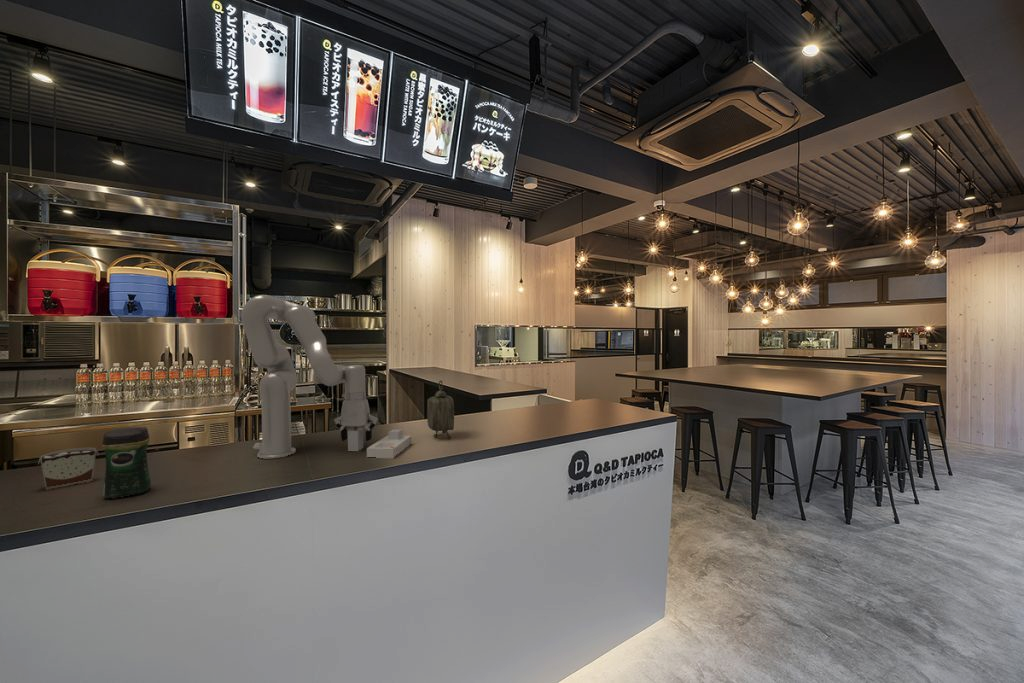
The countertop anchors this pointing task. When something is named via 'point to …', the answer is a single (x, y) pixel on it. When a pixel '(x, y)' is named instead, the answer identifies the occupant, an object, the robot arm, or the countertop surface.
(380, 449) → the power strip
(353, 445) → the plug
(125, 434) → the coffee jar
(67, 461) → the food container
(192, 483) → the countertop surface
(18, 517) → the countertop surface
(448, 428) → the dark lantern
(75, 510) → the countertop surface
